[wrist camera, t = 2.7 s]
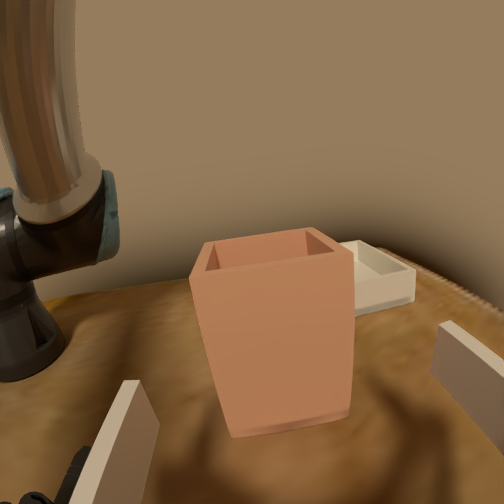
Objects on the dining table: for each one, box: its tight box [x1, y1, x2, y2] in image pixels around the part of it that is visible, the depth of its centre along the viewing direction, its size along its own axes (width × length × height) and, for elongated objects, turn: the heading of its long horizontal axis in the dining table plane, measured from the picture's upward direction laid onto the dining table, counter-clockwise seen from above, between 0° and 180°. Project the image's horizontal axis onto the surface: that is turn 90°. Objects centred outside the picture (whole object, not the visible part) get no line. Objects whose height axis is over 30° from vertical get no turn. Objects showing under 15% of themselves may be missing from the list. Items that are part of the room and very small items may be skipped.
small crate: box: [189, 227, 355, 438], centre depth 21 cm, size 9×9×13 cm
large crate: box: [339, 240, 416, 317], centre depth 42 cm, size 19×19×4 cm
